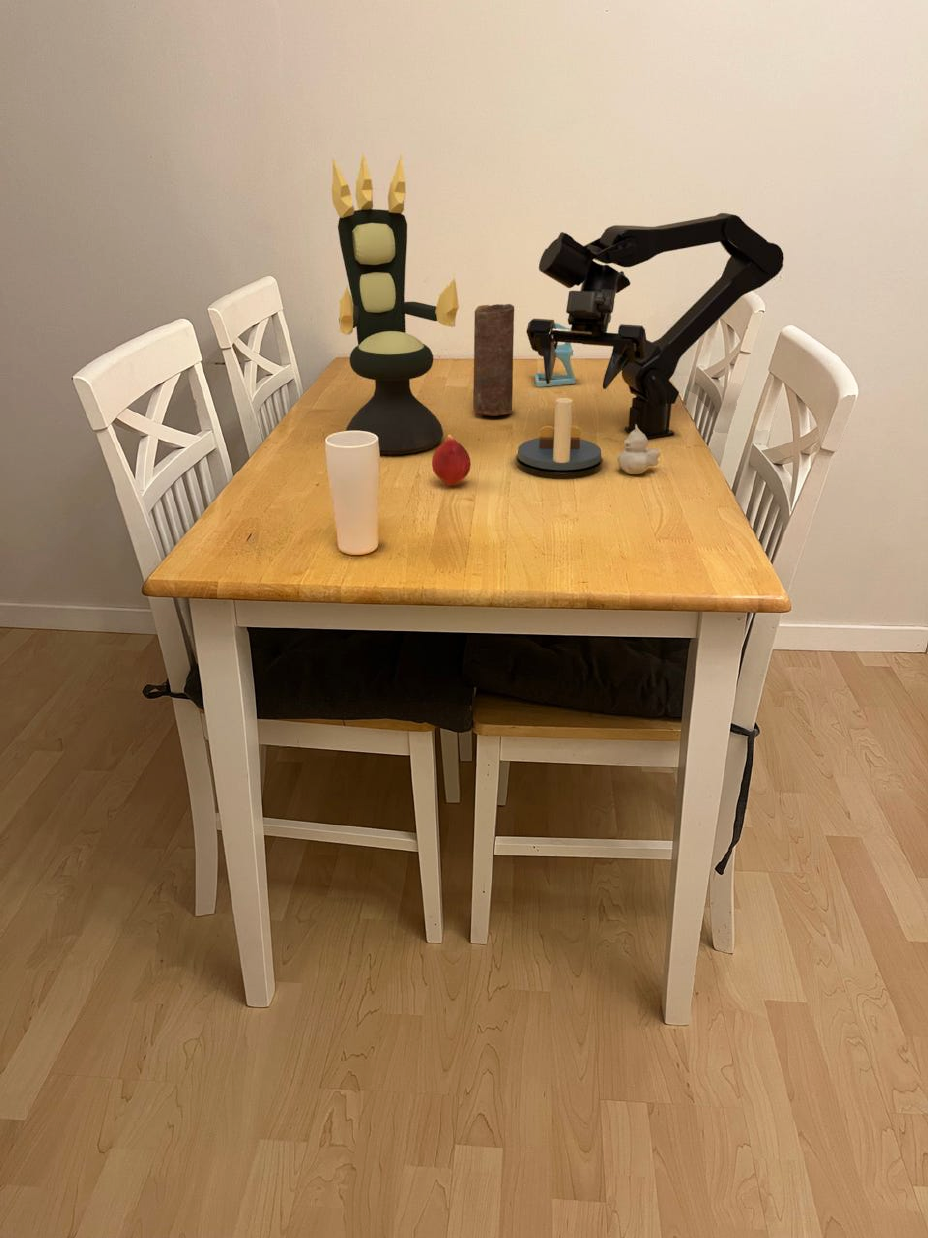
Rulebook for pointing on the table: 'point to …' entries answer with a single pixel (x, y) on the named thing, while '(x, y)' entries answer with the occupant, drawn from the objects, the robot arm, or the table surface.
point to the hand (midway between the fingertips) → (575, 384)
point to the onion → (451, 462)
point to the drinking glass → (354, 489)
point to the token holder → (560, 444)
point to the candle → (493, 359)
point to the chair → (564, 355)
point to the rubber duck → (637, 454)
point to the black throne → (385, 314)
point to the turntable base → (558, 471)
